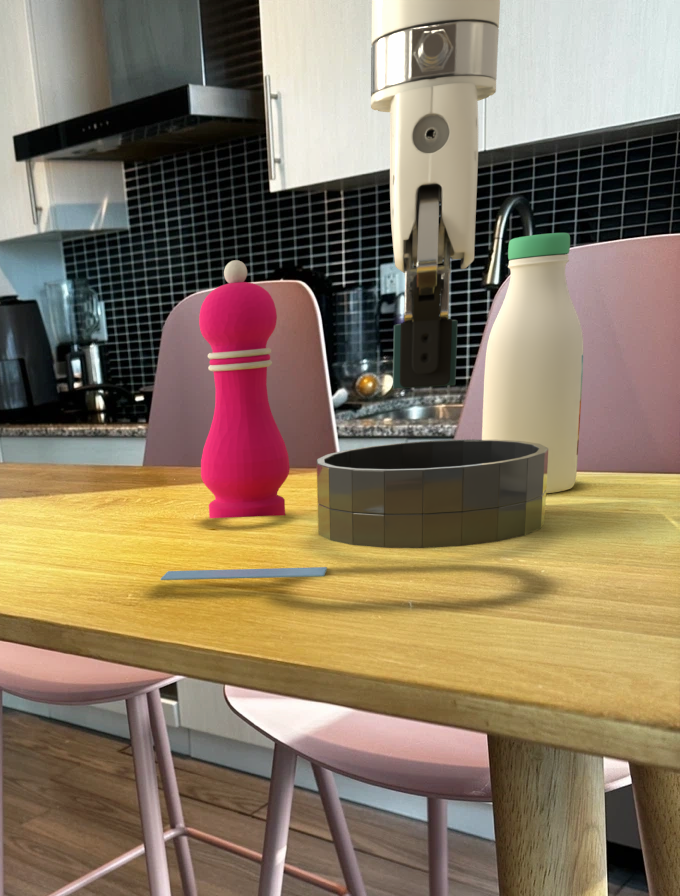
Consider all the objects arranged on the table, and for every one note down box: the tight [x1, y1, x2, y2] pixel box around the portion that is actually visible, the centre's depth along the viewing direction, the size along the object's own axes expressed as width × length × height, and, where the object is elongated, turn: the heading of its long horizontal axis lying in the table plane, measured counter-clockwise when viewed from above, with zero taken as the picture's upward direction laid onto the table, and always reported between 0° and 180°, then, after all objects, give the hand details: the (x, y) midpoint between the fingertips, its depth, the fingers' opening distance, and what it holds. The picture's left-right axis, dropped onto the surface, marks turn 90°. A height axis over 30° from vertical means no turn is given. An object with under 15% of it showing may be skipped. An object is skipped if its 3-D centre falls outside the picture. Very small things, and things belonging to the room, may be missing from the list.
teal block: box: [392, 319, 458, 390], centre depth 69 cm, size 4×4×4 cm
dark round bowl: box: [315, 438, 549, 549], centre depth 72 cm, size 15×15×6 cm
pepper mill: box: [198, 259, 291, 519], centre depth 82 cm, size 7×7×20 cm
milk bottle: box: [481, 232, 584, 494], centre depth 85 cm, size 8×8×20 cm
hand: (425, 380), depth 70 cm, fingers closed on teal block, 4 cm apart
